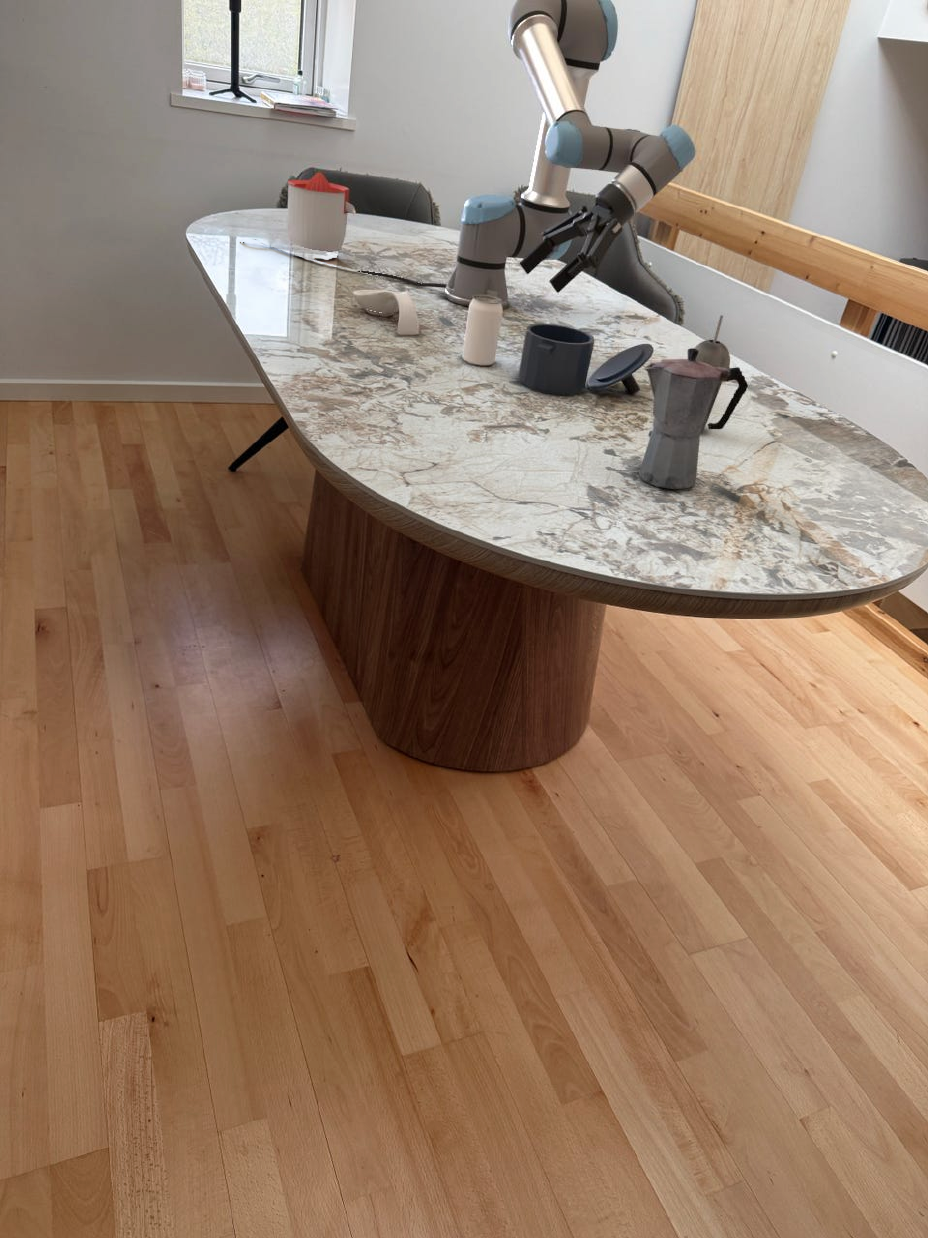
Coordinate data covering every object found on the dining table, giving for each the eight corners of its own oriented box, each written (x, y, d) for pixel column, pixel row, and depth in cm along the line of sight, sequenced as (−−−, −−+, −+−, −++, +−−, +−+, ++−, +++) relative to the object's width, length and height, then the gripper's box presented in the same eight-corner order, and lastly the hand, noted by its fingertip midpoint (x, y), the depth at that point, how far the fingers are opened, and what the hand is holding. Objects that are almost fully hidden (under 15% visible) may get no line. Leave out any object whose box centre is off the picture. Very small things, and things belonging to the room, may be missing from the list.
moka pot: (613, 461, 146) (643, 334, 135) (706, 471, 148) (743, 346, 137) (627, 487, 137) (660, 353, 127) (725, 496, 140) (766, 366, 129)
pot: (503, 386, 170) (511, 334, 165) (535, 365, 185) (544, 317, 180) (567, 404, 167) (578, 351, 162) (595, 381, 181) (606, 332, 176)
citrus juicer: (348, 267, 236) (354, 181, 226) (279, 257, 235) (282, 170, 225) (355, 255, 250) (361, 174, 239) (290, 245, 248) (293, 163, 238)
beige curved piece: (344, 303, 205) (346, 270, 201) (393, 305, 210) (397, 272, 206) (383, 336, 187) (386, 299, 184) (435, 336, 192) (440, 301, 189)
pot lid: (665, 337, 170) (681, 367, 173) (619, 344, 182) (635, 372, 185) (616, 382, 167) (634, 412, 170) (573, 386, 179) (590, 414, 182)
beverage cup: (713, 427, 167) (745, 314, 157) (708, 439, 161) (742, 323, 151) (673, 417, 169) (703, 305, 158) (667, 429, 163) (698, 313, 152)
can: (491, 368, 179) (501, 305, 172) (458, 362, 179) (467, 298, 173) (496, 360, 184) (506, 298, 178) (465, 353, 185) (474, 292, 179)
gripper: (666, 228, 168) (577, 310, 170) (600, 201, 187) (521, 275, 189) (647, 194, 163) (556, 279, 165) (582, 170, 182) (501, 246, 184)
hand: (537, 277), depth 177 cm, fingers open, 13 cm apart
